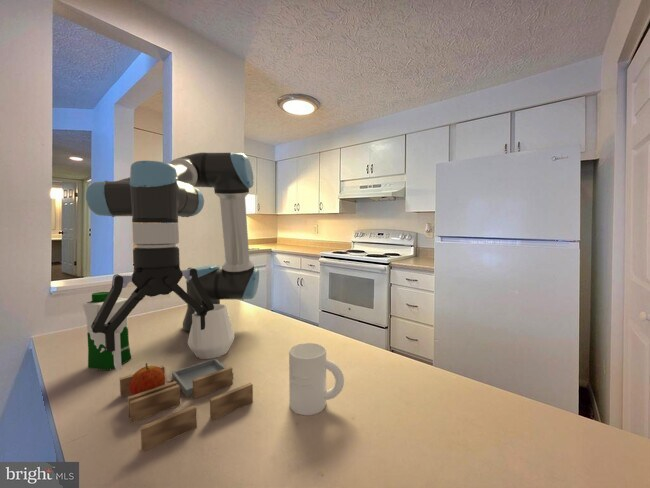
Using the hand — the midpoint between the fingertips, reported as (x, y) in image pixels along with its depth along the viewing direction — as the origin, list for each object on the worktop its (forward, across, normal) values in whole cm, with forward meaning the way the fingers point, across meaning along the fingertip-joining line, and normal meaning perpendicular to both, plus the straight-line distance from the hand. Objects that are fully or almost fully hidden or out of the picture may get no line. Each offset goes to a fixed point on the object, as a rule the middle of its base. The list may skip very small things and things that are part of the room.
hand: (160, 355), depth 56 cm
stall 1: (+14, 0, -12) cm, 18 cm away
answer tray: (+14, -12, -12) cm, 22 cm away
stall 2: (+14, 0, 0) cm, 14 cm away
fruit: (+14, 0, -12) cm, 18 cm away
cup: (+14, -20, -26) cm, 36 cm away
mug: (+14, -26, +16) cm, 34 cm away
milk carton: (+14, +4, -38) cm, 41 cm away
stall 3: (+14, -12, 0) cm, 18 cm away
